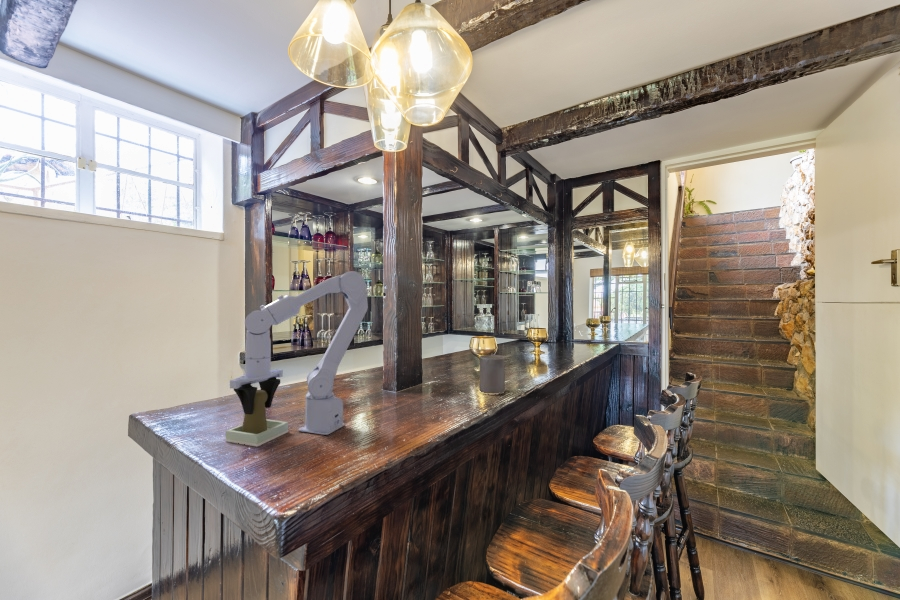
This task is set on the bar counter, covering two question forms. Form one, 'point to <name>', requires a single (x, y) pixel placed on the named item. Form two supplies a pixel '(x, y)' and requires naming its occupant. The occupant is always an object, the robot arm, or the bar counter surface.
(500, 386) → the pillar candle
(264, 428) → the olive pepper mill
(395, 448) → the bar counter surface
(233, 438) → the tray
